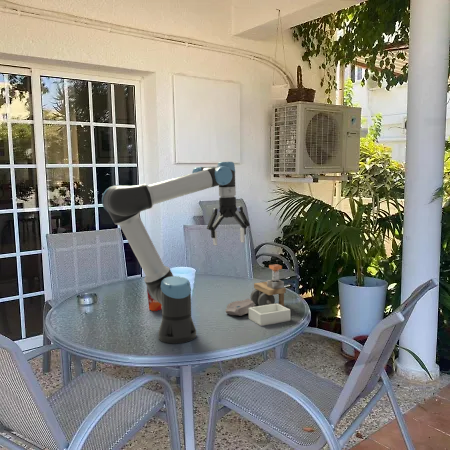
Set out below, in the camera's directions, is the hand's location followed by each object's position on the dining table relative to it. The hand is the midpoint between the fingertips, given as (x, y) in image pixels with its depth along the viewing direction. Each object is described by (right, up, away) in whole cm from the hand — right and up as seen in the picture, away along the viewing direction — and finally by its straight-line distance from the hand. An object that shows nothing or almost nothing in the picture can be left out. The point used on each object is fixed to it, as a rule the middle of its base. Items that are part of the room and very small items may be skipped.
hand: (229, 243), depth 200 cm
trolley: (+19, -31, +15) cm, 39 cm away
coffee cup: (-36, -33, +15) cm, 51 cm away
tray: (+18, -34, -4) cm, 38 cm away
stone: (+5, -33, +5) cm, 34 cm away
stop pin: (+22, -21, +11) cm, 33 cm away
